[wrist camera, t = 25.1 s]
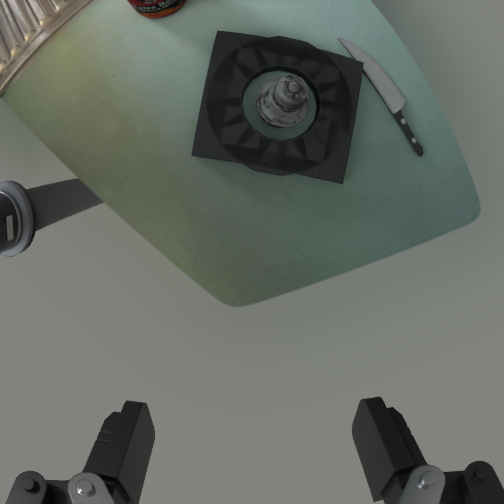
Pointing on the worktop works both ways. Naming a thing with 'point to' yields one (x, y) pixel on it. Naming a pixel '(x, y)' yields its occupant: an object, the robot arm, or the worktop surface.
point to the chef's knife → (384, 88)
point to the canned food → (156, 7)
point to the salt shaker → (283, 101)
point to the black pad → (254, 143)
